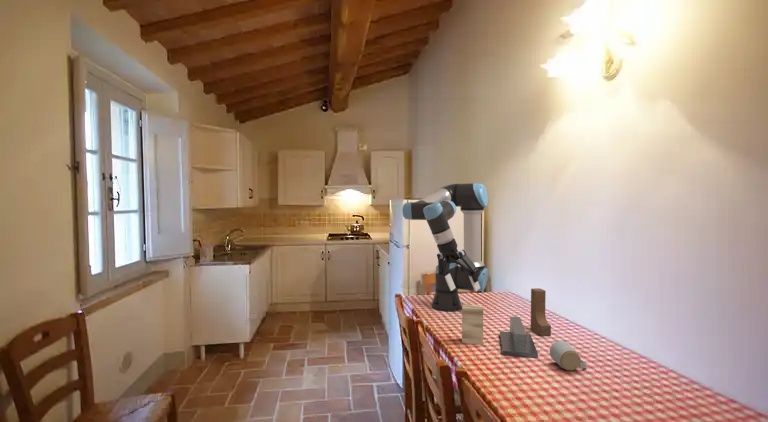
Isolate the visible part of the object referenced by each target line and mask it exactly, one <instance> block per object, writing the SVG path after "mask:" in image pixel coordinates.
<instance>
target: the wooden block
mask: <svg viewBox="0 0 768 422" xmlns="http://www.w3.org/2000/svg"><path fill="white" fill-rule="evenodd" d="M546 296H547V295H546V290H544V289H543V288H535V287H534V288H531V289H530V330H531V331H532V332H534V333H536V334H537V335H539V336H541V337H549V336H552V325H551V324H550V323H549V322H548V321H547V318H546V317H547V316H546Z"/></svg>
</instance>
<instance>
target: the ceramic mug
mask: <svg viewBox="0 0 768 422" xmlns="http://www.w3.org/2000/svg"><path fill="white" fill-rule="evenodd" d="M549 356H550V357H551V359H552V360H553V361H554V362H555V363H556V364H557V365H558V366H559V367H561V368H562V369H563V370H565V371H575V370H577V369H578V368H582V369H586V367H587V363H586V362H585V361H584V360H582V359H581V356H580V354H579V353H578V352H577V351H576V349H574V348H573V347H572V346H571V345H570V344H569V343H568V342H566V341H564V340H557V341H555V342H553V343H552V344H551V346H550V347H549Z"/></svg>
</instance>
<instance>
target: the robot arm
mask: <svg viewBox="0 0 768 422" xmlns="http://www.w3.org/2000/svg"><path fill="white" fill-rule="evenodd" d="M488 196H489V195H488V190H487V188H486V186H485V185H484V184H482V183H477V182H474V183H473V182H471V183H451V184H447V185H445V186H442V187H440V188H438V189H435V190H434V192H433V193H432V194H430V195H427V196H425V197H424V198H421V199H418V200H417V201H415V202H412V201H409V202H404V204H403V205H402V212H401V213H402V217H403V218H404V219H405V220H409V221H410V220H411V221H419V220H420V221H426V223H427V224H428V227H429V230H430V232H431V234H432V237H433V239H434V242H435V244H437V245H436V247H437V250H438V252H439V253H437V254H436V257H437V265H436V266H435V273H434V274H435V276H434V278H435V281H434V282H435V284H434V285H435V293H434V295H433V299H432V302H431V308H433V309H434V310H437V311H441V312H442V311H443V312H456V311H459V310H462V303H461V299H460V297H459V290H463V291H464V290H465V291H473V292H482V291H484V290H485V288H486V286H487V284H488V283H487V282H488V279H489V270H488V268H486V267H485V263H484V262H483V261H482V213H484V212H485V208H486V207H488V204H489V203H488V202H489V197H488ZM457 207H458V208H459V207H460V212H461V213H462V214H463V249H461V250H460V251H459V250H458V243H457V242H456V239H455V238H454V237H455V236H454V233H453V231H452V228H451V226H450V224H449V220H451V219H452V218H453V217H455V216H454V215H456V213H457Z"/></svg>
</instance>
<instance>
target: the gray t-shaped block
mask: <svg viewBox="0 0 768 422" xmlns="http://www.w3.org/2000/svg"><path fill="white" fill-rule="evenodd" d="M523 324H524V323H523V321H522V318H521V317H520V316H509V331H505V330H504V331H503V330H499V338H500V339H501V340H500V346H501V345H502V346H501V351H502V355H503V356H510V357H512V356H513V357H522V356H523V357H524V358H533V357H534V358H535V359H538V358H539V353H538V350H537V347H536V345H535V343H534V340H533V337H532V334H531V333H527V332H526V331H525V327H524V325H523Z"/></svg>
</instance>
